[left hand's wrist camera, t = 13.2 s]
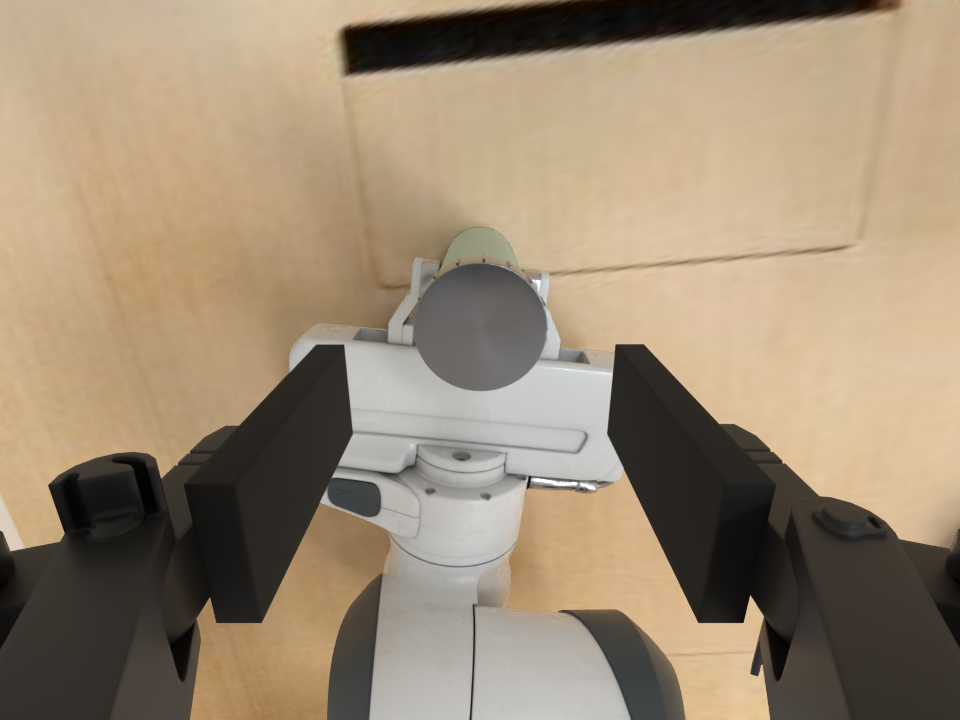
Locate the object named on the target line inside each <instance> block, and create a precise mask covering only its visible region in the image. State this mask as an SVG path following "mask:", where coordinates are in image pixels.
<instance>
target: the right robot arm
mask: <svg viewBox="0 0 960 720" xmlns="http://www.w3.org/2000/svg"><path fill="white" fill-rule="evenodd" d="M441 263H442V260H438V259H430V258H423V257H415V258H414V260H413V265H412V276H411V289H410V291H409V292H408V294H407V295H406V297H405V298H404V299H403V301H402V302H401V304H400V305H399V307H398V308H397V310H396V311H395V313H394V314H393V316H392V318H391V319H390V321H389V322H388V329H380V328H370V327H361V326H351V325H341V324H332V323H317V324H315V325H314V326H312V327H311V328H310V329H309V330H307V331H306V332H305V333H304V334H303V335H302V336H301V337H300V338H299V339H298V340H297V341H296V342H295V343H294V345H293V346H292V348H291V351H290V354H289V373H290V372H291V371H292V370H293V369H294V367H295V366H296V365H297V364H298V363H299V362H300V361H301V360H302V359H303V358H304V357H305V356H306V355H307V354H308V353H309V352H310V351H311V350H312V348H313V347H314V346H315V345H316V344H344V346H345V356H346V367H347V377H348V387H349V397H350V408H351V418H352V428H353V435H352V437H351V439H350V441H349V443H348V445H347V447H346V450H345V452H344V454H343V456H342V458H341V460H340V462H339V464H338V466H337V468H336V470H335V472H334V474H333V476H332V478H331V481H330V483H329V485H328V487H327V489H326V491H325V493H324V495H323V497H322V499H321V501H320V503H322V504H324V505H327V506H329V507H332V508H335V509H338V510H341V511H343V512H346V513H349V514H351V515H354V516H357V517H359V518H362V519H364V520H366V521H369V522H371V523H373V524H375V525H377V526H380V527H382V528H384V529H386V530H387V531H388V535H389V539H390V544H391V548H390V551H389V553H388V555H387V558H386V561H385V564H384V571H383V574H382V573H381V574H380V575H378V576H377V577H376V578H375V579H374V580H373V581H372V582H370V584H369V585H368V586H367V587H366V588H365V589H364V590H363V591H362V593H361V594H360V595H359V596H358V597H357V598H356V600H355V601H354V602H353V603H352V604H351V606H350V607H349V609H348V611H347V613H346V615H345V617H344V619H343V621H342V624H341V627H340V630H339V633H338V636H337V639H336V644H335V648H334V652H333V657H332V663H331V670H330V679H329V691H328V712H327V720H685V713H684V706H683V700H682V695H681V690H680V686H679V682H678V679H677V676H676V673H675V671H674V668H673V666H672V664H671V663H670V661H669V660H668V659H667V657H666V656H665V655H664V653H663V652H662V651H661V650H660V648H659V647H658V646H657V645H656V644H655V643H654V641H653V640H652V639H651V638H650V637H649V636H648V635H647V634H646V633H645V632H644V631H643V630H642V629H641V628H640V627H639V626H638V625H637V624H635V623H634V622H633V621H632V620H631V619H630V618H628V617H627V616H626V615H625V614H624V613H622V612H621V611H618V610H561V611H558V612H548V611H537V610H526V609H514V608H506V607H507V602H508V597H509V592H510V585H511V569H510V564H509V557H510V555H511V553H512V552H513V550H514V548H515V546H516V543H517V540H518V536H519V531H520V525H521V519H522V513H523V507H524V501H525V494H526V489H528V488H531V489H542V490H570V491H575V492H577V493H595V492H596V491H597V488H603V487H606V486H609V485H611V484H613V483H614V482H617V481H618V480H619V479H620V478H621V476H622V474H623V471H624V468H623V466H622V464H621V462H620V460H619V458H618V456H617V454H616V452H615V450H614V447H613V445H612V443H611V441H610V439H609V437H608V435H607V428H608V418H609V408H610V397H611V387H612V377H613V367H614V356H615V353H613V352H603V351H594V350H584V349H574V348H565V347H560V343H561V340H560V337H559V335H558V332H557V330H556V327H555V325H554V322H553V320H552V317H551V315H550V312H549V310H548V307H547V305H546V306H544V307H545V310H546V315H547V320H548V332H547V339H546V343H545V347H544V349H543V352H542V354H541V356H540V358H539V359H538V361H537V362H536V364H535V365H534V367H533V368H532V369H531V370H530V371H529V372H528V373H527V374H526V375H524V376H523V377H522V378H521V379H519V380H518V381H516V382H514V383H512V384H510V385H508V386H506V387H503V388H500V389H496V390H491V391H471V390H465V389H462V388H458V387H455V386H453V385H451V384H449V383H447V382H445V381H444V380H442V379H441V378H439V377H438V376H437V375H435V374H434V373H433V372H432V371H431V370H430V369H429V367H428V366H427V365H426V364H425V362H424V361H423V359H422V357H421V356H420V353H419V351H418V349H417V346H416V342H415V338H414V325H413V321H414V316H415V315H409V314H410V313H411V311H412V310H413V308H414V307H415V305H416V304H417V302H418V301H419V300H418V297H419V295H420V293H421V291H424V289H425V288H426V286H427V284H428V283H429V281H430V280H431V279H432V278H433V275H434V273H435V271H436V270H437V271H439V270H440V268H441ZM522 271H523V272H524V273H525V274H526V275H527V276H528V275H530V277H531V279H532V281H533V284H534V286H535V287H536V289H537V291H538V294H539V296H542V298H543V300H544V302H545V304H547V298H548V291H549V285H550V274H549V273H548V271H541V270H532V269H522ZM597 481H600V482H597Z"/></svg>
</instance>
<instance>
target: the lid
mask: <svg viewBox="0 0 960 720" xmlns="http://www.w3.org/2000/svg"><path fill="white" fill-rule="evenodd" d="M418 300H419V303H418V305H417V308H416V312H415V316H414V321H413V325H414V338H415V342H416V346H417V349H418V351H419V353H420V356H421V357H422V359H423V361H424V362H425V364H426V365H427V366H428V367H429V369H430V370H431V371H432V372H433V373H434V374H435V375H437V376H438V377H439V378H441V379H442V380H444V381H445V382H447V383H449V384H451V385H453V386H455V387H458V388H462V389H465V390H471V391H491V390H496V389H500V388H503V387H506V386H508V385H510V384H512V383H514V382H516V381H518V380H519V379H521V378H522V377H523V376H524V375H526V374H527V373H528V372H529V371H530V370H531V369H532V368H533V367H534V365H535V364H536V362H537V361H538V359H539V358H540V356H541V354H542V352H543V349H544V347H545V343H546V339H547V332H548V320H547V315H546V310H545V307H544V306H546V304H545V302H544V300H543V298H542V296H539V294H538V291H537V289H536V287H535V286H534V284H533V281H532V279H531V277H530V275H528V276H527V275H526V274H525V273H524V272H523V271H522V270H520V269H519V268H518V267H516V266H515V265H513V264H512V263H511V261H510V260H507V261H505V260H503V259H500V258H497V257H492V256H485V254H482V256H481V255H479V256H469V257H465V258H461V259H460V258H459V257H458V258H457V259H456V261H453V262H452V263H450V264H448V265H446V266H445V267H443V268H442V269H441V270H439V271H437V270H436V271H435V273H434V275H433V278H432V279H431V280H430V281H429V283H428V284H427V286H426V288H425V289H424V291H421V293H420V295H419V297H418Z"/></svg>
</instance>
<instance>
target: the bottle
mask: <svg viewBox="0 0 960 720" xmlns="http://www.w3.org/2000/svg"><path fill="white" fill-rule="evenodd" d="M482 254H485V256H492V257H497V258H500V259H503V260H505V261H507V260H510V261H511V263H512V264H513V265H515V266H516V267H518V268H519V269H520V267H519V264H518V262H517V260H516V257H515V255H514V253H513V250H512V248H511V246H510V244H509V242H508V241H507V240H506V239H505V237H504V236H502V235H501V234H500V233H498V232H497V231H495V230H493V229H489V228H485V227H475V228H471V229H468V230H465V231H464V232H462V233H460V234H459V235H458V236H457V237H456V238H455V239H454V240H453V241H452V243H451V244H450V246H449V248H448V251H447V253H446V256H445V258H444V261H443V263H442V266H441V268H440V270H441V269H442V268H443V267H445V266H446V265H448V264H450V263H452V262H453V261H456V259H457V258H458V257H459V258H460V259H461V258H465V257H469V256H479V255H481V256H482ZM520 270H521V269H520Z"/></svg>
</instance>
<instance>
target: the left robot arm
mask: <svg viewBox="0 0 960 720" xmlns="http://www.w3.org/2000/svg"><path fill="white" fill-rule="evenodd" d="M352 435H353V428H352V418H351V408H350V397H349V387H348V377H347V367H346V356H345V346H344V344H316V345H315V346H314V347H313V348H312V350H311V351H310V352H309V353H308V354H307V355H306V356H305V357H304V358H303V359H302V360H301V361H300V362H299V363H298V364H297V365H296V366H295V367H294V369H293V370H292V371H291V372H290V373H289V374H288V375H287V376H286V377H285V378H284V379H283V380H282V381H281V382H280V383H279V384H278V385H277V386H276V388H275V389H274V390H273V391H272V392H271V393H270V394H269V395H268V396H267V397H266V398H265V399H264V400H263V401H262V402H261V403H260V404H259V405H258V407H257V408H256V409H255V410H254V411H253V412H252V413H251V414H250V415H249V416H248V417H247V418H246V419H245V420H244V421H243V422H242V423H241V424H240V426H225V427H223V428H221V429H219V430H217V431H215V432H214V433H212V434H210V435H208V436H206V437H204V438H203V439H202V440H201V441H200V442H199V443H198V444H197V445H196V446H195V447H194V448H193V449H192V450H191V451H190V454H187V455H186V456H185V457H184V458H182V459H181V460H180V461H179V462H178V466H174V467H173V468H172V469H171V470H170V471H169V472H168V473H167V474H166V475H165V476H164V477H163V478H162V479H161V477H160V473H159V469H158V465H157V462H156V459H155V458H154V457H152V456H151V455H149V454H146V453H138V452H127V453H116V454H111V455H107V456H103V457H99V458H95V459H92V460H89V461H87V462H84V463H82V464H79V465H76V466H74V467H72V468H71V469H69V470H67V471H65V472H64V473H62V474H60V475H59V476H57V477H56V478H55V479H54V480H53V481H52V482H51V483H50V484H49V485H48V486H49V489H50V492H51V495H52V498H53V501H54V504H55V506H56V509H57V512H58V515H59V518H60V521H61V524H62V527H63V530H64V532H65V534H64V536H63V538H62V540H61V541H60V542H57V543H52V544H46V545H41V546H36V547H31V548H26V549H21V550H16V551H10V549H9V547H8V544H7V542H6V539H5V537H4V534H3V532H2V531H0V720H190V714H191V707H192V700H193V693H194V686H195V678H196V671H197V664H198V657H199V650H200V643H201V638H200V631H199V626H198V622H197V619H196V618H197V617H198V615H199V613H200V612H201V610H202V609H203V607H204V606H205V604H206V602H207V601H208V599H209V598H211V602H212V606H213V610H214V615H215V619H216V623H262V621H263V619H264V617H265V615H266V613H267V611H268V609H269V607H270V605H271V602H272V600H273V598H274V596H275V594H276V592H277V590H278V588H279V586H280V584H281V582H282V580H283V578H284V576H285V574H286V571H287V569H288V567H289V565H290V563H291V561H292V559H293V557H294V555H295V553H296V551H297V549H298V547H299V545H300V543H301V540H302V538H303V536H304V534H305V532H306V530H307V528H308V526H309V524H310V522H311V520H312V518H313V516H314V514H315V512H316V509H317V507H318V505H319V503H320V501H321V499H322V497H323V495H324V493H325V491H326V489H327V487H328V485H329V483H330V481H331V478H332V476H333V474H334V472H335V470H336V468H337V466H338V464H339V462H340V460H341V458H342V456H343V454H344V452H345V450H346V447H347V445H348V443H349V441H350V439H351V437H352ZM607 435H608V437H609V439H610V441H611V443H612V445H613V447H614V450H615V452H616V454H617V456H618V458H619V460H620V462H621V464H622V466H623V468H624V470H625V472H626V474H627V476H628V478H629V481H630V483H631V485H632V487H633V489H634V491H635V493H636V495H637V497H638V499H639V501H640V503H641V505H642V507H643V509H644V512H645V514H646V516H647V518H648V520H649V522H650V524H651V526H652V528H653V530H654V532H655V534H656V536H657V538H658V540H659V543H660V545H661V547H662V549H663V551H664V553H665V555H666V557H667V559H668V561H669V563H670V565H671V567H672V569H673V571H674V574H675V576H676V578H677V580H678V582H679V584H680V586H681V588H682V590H683V592H684V594H685V596H686V598H687V600H688V602H689V605H690V607H691V609H692V611H693V613H694V615H695V617H696V619H697V621H698V623H744V619H745V615H746V610H747V606H748V602H749V598H750V595H751V597H752V598H753V600H754V601H755V603H756V604H757V606H758V608H759V609H760V611H761V612H762V614H763V615H764V619H763V622H762V626H761V630H760V634H759V638H758V642H757V646H756V650H755V654H754V658H753V662H752V667H751V674H752V675H755V676H758V675H759V671H760V667H761V665H762V664H763V670H764V677H765V684H766V691H767V698H768V706H769V713H770V720H960V529H959V530H958V532H957V534H956V537H955V539H954V542H953V544H952V547H951V549H947V548H942V547H937V546H931V545H926V544H921V543H916V542H911V541H905V540H900V539H898V537H897V535H896V533H895V532H894V531H893V530H892V529H891V527H890V526H889V525H888V524H887V523H886V522H885V521H884V520H882V519H881V518H879V517H878V516H876V515H875V514H873V513H872V512H870V511H868V510H866V509H864V508H862V507H859V506H857V505H855V504H853V503H850V502H846V501H842V500H839V499H835V498H831V497H821V496H819V495H818V494H816V493H815V492H814V491H813V490H812V489H811V488H810V487H809V486H808V485H807V484H806V483H805V482H804V481H803V480H802V479H801V478H800V477H799V476H798V475H797V474H796V473H795V472H793V471H792V470H791V469H790V468H789V467H788V466H787V465H786V464H782V460H781V459H780V458H779V457H778V456H777V455H776V454H775V453H774V452H770V449H769V448H768V447H767V446H766V445H765V444H764V443H763V442H762V441H761V440H760V439H759V438H758V437H757V436H756V435H754V434H752V433H750V432H748V431H746V430H744V429H743V428H741V427H739V426H737V425H735V424H719V423H718V422H717V421H716V420H715V419H714V418H713V417H712V416H711V415H710V414H709V413H708V412H707V411H706V410H705V409H704V408H703V407H702V405H701V404H700V403H699V402H698V401H697V400H696V399H695V398H694V397H693V396H692V395H691V394H690V393H689V392H688V391H687V390H686V389H685V388H684V386H683V385H682V384H681V383H680V382H679V381H678V380H677V379H676V378H675V377H674V376H673V375H672V374H671V373H670V372H669V371H668V370H667V369H666V367H665V366H664V365H663V364H662V363H661V362H660V361H659V360H658V359H657V358H656V357H655V356H654V355H653V354H652V353H651V352H650V351H649V350H648V348H647V347H646V346H645V345H644V344H616V346H615V356H614V367H613V377H612V387H611V397H610V408H609V418H608V428H607Z"/></svg>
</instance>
